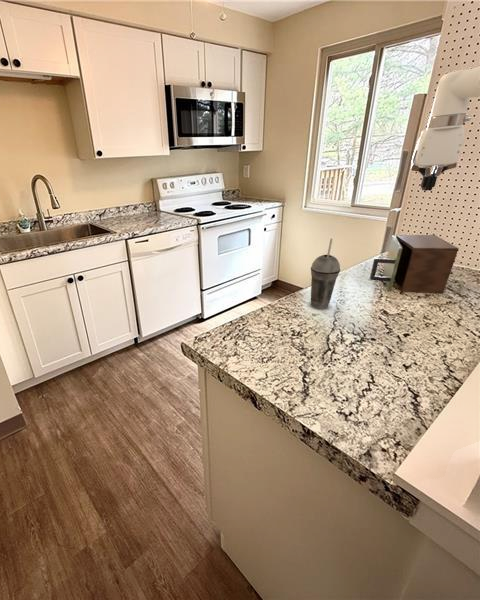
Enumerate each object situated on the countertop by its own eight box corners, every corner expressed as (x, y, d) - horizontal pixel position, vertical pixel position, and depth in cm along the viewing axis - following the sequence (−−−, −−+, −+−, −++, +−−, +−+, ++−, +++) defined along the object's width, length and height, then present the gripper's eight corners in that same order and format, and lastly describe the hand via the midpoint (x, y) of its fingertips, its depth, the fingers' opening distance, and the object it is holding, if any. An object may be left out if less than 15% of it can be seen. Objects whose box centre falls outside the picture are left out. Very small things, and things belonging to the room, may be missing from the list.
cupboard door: (368, 288, 98) (377, 247, 93) (365, 272, 110) (373, 234, 104) (391, 290, 95) (402, 248, 90) (385, 274, 107) (395, 235, 101)
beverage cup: (301, 307, 92) (310, 241, 83) (311, 298, 96) (320, 235, 88) (327, 314, 87) (340, 244, 78) (337, 304, 91) (350, 237, 82)
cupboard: (401, 291, 94) (414, 248, 89) (386, 274, 107) (396, 235, 101) (443, 293, 91) (458, 248, 85) (422, 275, 103) (434, 234, 98)
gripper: (473, 120, 89) (452, 187, 97) (408, 126, 95) (393, 189, 102) (487, 118, 83) (463, 190, 90) (416, 125, 88) (400, 192, 96)
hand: (426, 189), depth 96 cm, fingers closed
